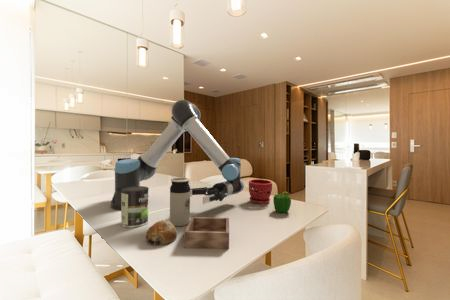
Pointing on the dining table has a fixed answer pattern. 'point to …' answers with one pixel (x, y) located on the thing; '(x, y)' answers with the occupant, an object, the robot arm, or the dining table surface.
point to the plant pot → (260, 190)
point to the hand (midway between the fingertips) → (191, 197)
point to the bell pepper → (282, 202)
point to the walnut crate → (207, 233)
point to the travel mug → (180, 202)
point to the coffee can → (134, 206)
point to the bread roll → (161, 233)
